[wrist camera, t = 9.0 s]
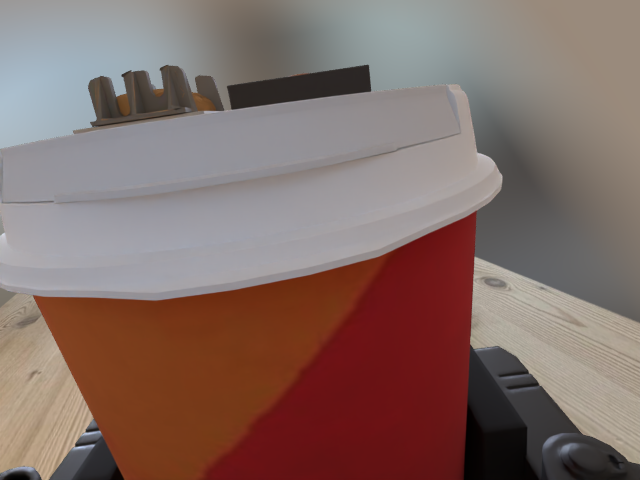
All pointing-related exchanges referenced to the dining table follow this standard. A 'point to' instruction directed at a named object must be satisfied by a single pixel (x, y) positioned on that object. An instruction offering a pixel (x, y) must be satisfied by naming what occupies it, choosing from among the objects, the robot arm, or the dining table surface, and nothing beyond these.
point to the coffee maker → (300, 87)
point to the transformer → (151, 99)
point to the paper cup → (262, 283)
